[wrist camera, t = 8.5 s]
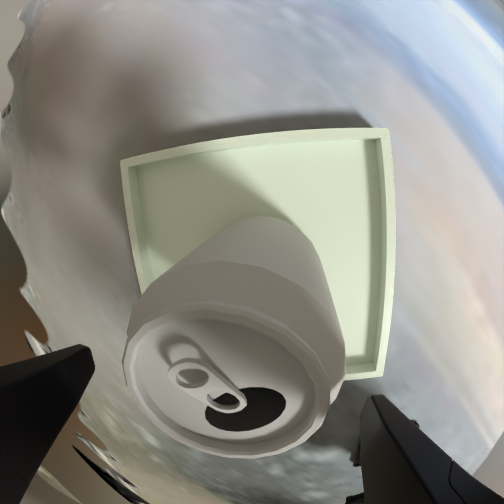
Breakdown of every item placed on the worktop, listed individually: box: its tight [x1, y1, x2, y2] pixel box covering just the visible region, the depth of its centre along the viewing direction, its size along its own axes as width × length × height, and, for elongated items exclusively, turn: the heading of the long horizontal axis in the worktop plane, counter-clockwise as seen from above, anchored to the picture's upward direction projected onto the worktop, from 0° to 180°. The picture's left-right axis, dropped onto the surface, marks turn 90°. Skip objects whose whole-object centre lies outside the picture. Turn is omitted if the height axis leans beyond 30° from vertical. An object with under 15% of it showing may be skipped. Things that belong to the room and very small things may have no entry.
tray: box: [120, 128, 396, 381], centre depth 18 cm, size 17×17×2 cm
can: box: [122, 216, 346, 458], centre depth 13 cm, size 8×8×12 cm
